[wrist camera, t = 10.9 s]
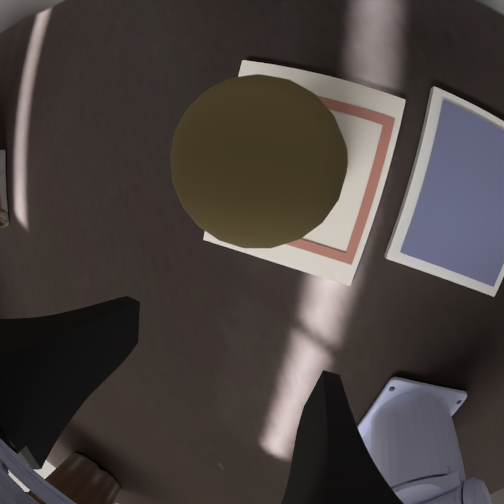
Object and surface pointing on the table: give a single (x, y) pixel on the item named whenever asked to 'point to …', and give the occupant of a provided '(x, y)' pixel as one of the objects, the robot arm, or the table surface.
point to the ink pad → (455, 197)
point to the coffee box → (3, 191)
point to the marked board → (357, 177)
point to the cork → (258, 161)
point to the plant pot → (82, 482)
